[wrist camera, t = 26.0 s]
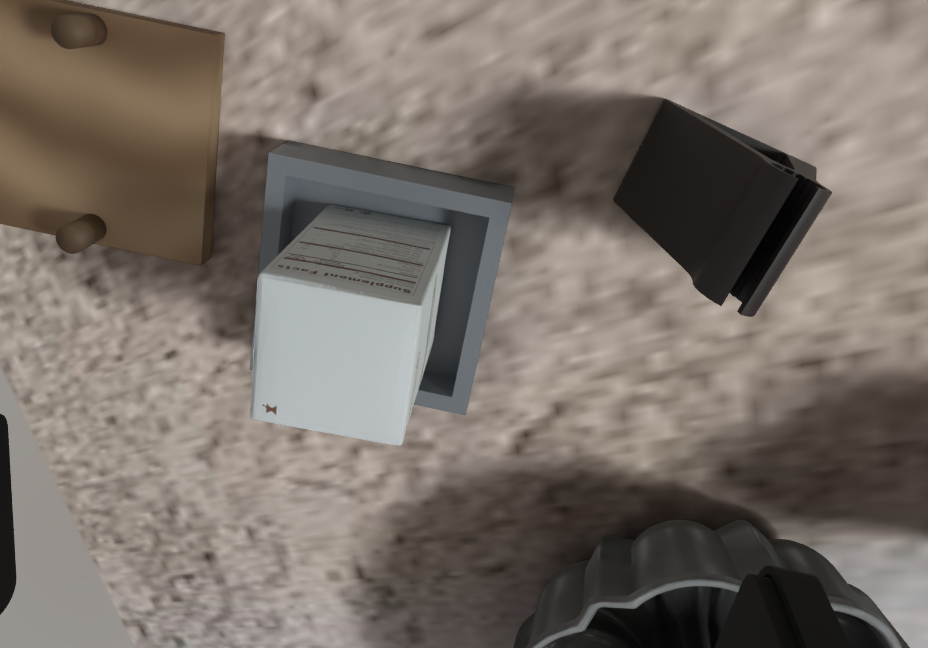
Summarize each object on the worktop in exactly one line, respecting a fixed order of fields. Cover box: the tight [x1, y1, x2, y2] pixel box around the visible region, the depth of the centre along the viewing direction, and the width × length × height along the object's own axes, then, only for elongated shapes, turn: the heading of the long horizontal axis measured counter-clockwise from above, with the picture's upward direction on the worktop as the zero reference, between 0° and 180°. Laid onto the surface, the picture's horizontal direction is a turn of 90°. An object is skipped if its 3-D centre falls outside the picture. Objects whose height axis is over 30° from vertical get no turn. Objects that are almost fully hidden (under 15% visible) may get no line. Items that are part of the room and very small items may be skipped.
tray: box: [250, 140, 514, 415], centre depth 46 cm, size 13×13×4 cm
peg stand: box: [0, 0, 225, 266], centre depth 43 cm, size 13×13×4 cm
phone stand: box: [613, 99, 832, 317], centre depth 38 cm, size 9×6×12 cm, turn 67°
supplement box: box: [250, 205, 451, 445], centre depth 40 cm, size 7×7×13 cm
